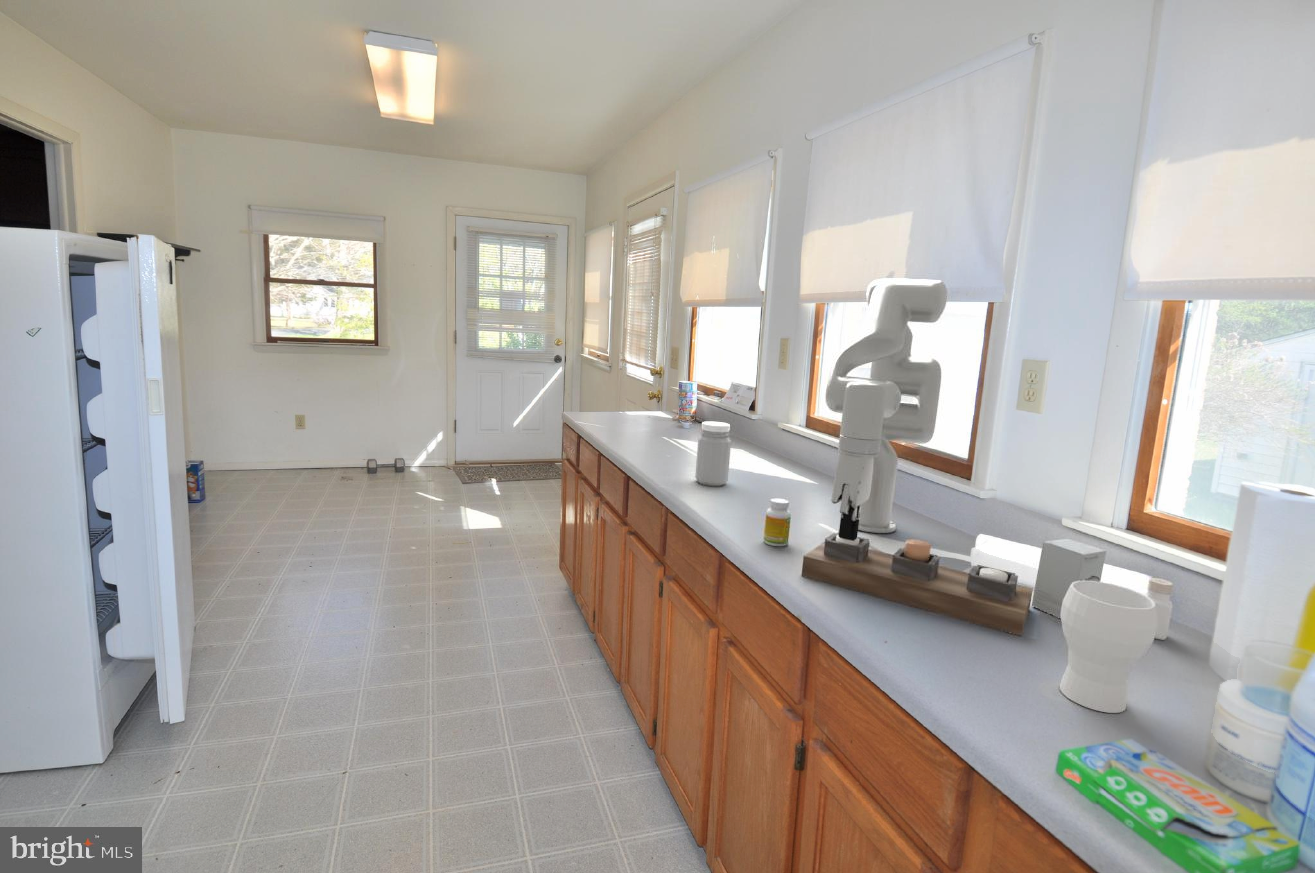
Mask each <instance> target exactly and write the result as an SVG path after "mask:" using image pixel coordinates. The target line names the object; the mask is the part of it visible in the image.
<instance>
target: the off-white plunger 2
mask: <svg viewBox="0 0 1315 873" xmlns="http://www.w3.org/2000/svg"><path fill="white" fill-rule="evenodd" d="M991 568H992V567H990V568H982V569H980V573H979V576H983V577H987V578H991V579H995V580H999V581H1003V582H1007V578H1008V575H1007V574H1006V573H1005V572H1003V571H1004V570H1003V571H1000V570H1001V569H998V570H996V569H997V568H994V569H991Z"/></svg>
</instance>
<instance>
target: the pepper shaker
mask: <svg viewBox="0 0 1315 873" xmlns="http://www.w3.org/2000/svg"><path fill="white" fill-rule="evenodd" d="M1173 587H1174V584H1173V583H1172V582H1171V581H1169V580H1166V579H1162V578H1156V577H1151V578H1149V581H1148V585H1147V592H1146V594H1144V595H1145V596H1147V597H1149V598H1150V599H1151V600H1153V601H1154V603H1155V605H1156V614H1157V628H1156V633H1155V637H1154V639H1157V640H1161V641H1163V640H1164V641H1165V640H1166V639H1167V636H1168V632H1169V628H1170V622H1171V619H1172V618H1171V617H1172V613H1173V607H1174V606H1173V603H1172V601H1171V600H1170V598H1171V595H1172V591H1173Z"/></svg>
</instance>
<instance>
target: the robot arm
mask: <svg viewBox="0 0 1315 873" xmlns="http://www.w3.org/2000/svg"><path fill="white" fill-rule="evenodd" d="M947 300H948V291H947V286H946V284H945V283H944V281H942V280H940V279H938V280H935V279H916V278H915V279H912V278H897V277H896V278H892V277H891V278H880V279H875V280H873V281H871V282H870V283H869V284H868V287H867V289H866V302H867V307H868V308H867V309H868V310H867V313H866V318H865V322H864V326H863V332H862V335H861V336H859V337H858V338H856V339H855V340H853V341H851V343H849V344H848V345H846V347H844V349H843V350H842V351H840V352H839V353H838V355H837V356H836V358H835V360H834V362H833V363H832V365H831V366H832V367H831V370H830V373H829V377H828V381H827V385H826V389H825V404H826V407H828V409H829V410H830V411H831V412H833V413H837V414H842V415H841V420H840V421H841V422H840V430H839V441H838V447H837V448H838V449H837V452H838V453H840V454H839V457H838V460H837V465H836V468H835V469H836V470H835V475H834V479H833V480H834V481H833V484H832V485H833V486H832V492H831V499H830V500H831V503H832V504H834V505H835V504H838V503H840V506H839V513H840V520H839V530H838V532H839V537H840V538H843V539H847V540H852V541H854V540H855V539H857V537H858V535H859V534H858V533H859V531H862V532H867V533H873V534H875V533H876V534H890V533H893V532H895V531H896V528H897V524H896V523H895V522H893V521H892V520H891V519H892V518H891V516H892V511H893V502H894V495H895V489H896V488H895V487H896V486H895V485H896V479H897V473H898V472H897V471H898V465H899V459H898V458H899V457H898V454H897V452H896V451H895V449H894V447H893V446H892V444H891V443H890V441H891V442H892V441H893V442H902V443H903V442H904V443H911V444H919V445H920V444H921V445H922V444H923V445H924V444H927V443H929V442H930V441H931V440H932V439H933V436H934V433H935V430H936V422H937V417H938V416H937V414H938V407H939V400H940V392H941V385H942V384H941V382H942V368H941V365H940V363H939V362H938V360H936V359H934V358H931V357H927V356H926V357H923V356H915V355H914V356H913V355H912V353H911V351H912V346H913V344H912V343H913V337H914V336H913V333H912V330H911V329H910V326H909V325H908V323H909V322H910V323H911V322H912V323H929V324H931V323H936V322H937V321H938V320H939V319H940V318H941V316H942V314H943V313H944V311H945V309H946V305H947ZM870 363H871V366H870V367H871V368H870V375H869V376H870V377H869V378H868V377H867V378H866V377H857V376H847V375H848V374H849V373H850V372H852V371H853V370H854V369H856V368H858V367H861V366H863V365H867V364H870ZM902 397H912V398H915V399H916V400H917V401H918V402H907V401H902Z"/></svg>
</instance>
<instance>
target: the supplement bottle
mask: <svg viewBox="0 0 1315 873" xmlns="http://www.w3.org/2000/svg"><path fill="white" fill-rule="evenodd" d="M769 505H770V506H769V508H767V510H766V512H765V521H764V529H763V530H764V532H763V543H764V544H766V545H769V546H773V547H785V546H787V545H788V543H789V536H790V528H791V517H792V514H791V512H790V510H788V509H789V505H790V501H789V500H787V499H784V498H778V497H777V498H771V499H770V502H769Z"/></svg>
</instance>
